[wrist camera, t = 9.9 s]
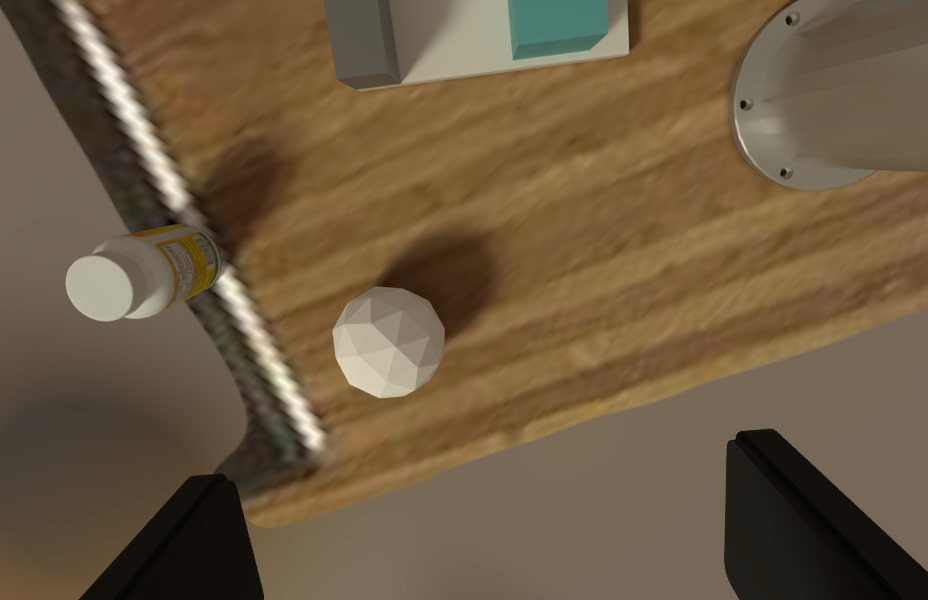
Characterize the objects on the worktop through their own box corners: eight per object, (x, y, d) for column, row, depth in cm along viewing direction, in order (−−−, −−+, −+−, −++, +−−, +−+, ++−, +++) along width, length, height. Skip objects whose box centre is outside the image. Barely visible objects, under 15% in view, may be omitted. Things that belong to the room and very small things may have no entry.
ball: (395, 338, 44) (336, 410, 39) (361, 258, 39) (290, 328, 34) (474, 352, 40) (421, 434, 35) (447, 266, 36) (381, 346, 30)
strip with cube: (621, -46, 34) (650, -87, 28) (625, 56, 35) (653, 37, 29) (344, -6, 35) (317, -38, 29) (359, 91, 36) (336, 79, 30)
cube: (585, -37, 33) (603, -70, 28) (589, 50, 34) (607, 33, 29) (505, -25, 33) (509, -56, 28) (512, 60, 35) (518, 45, 30)
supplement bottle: (234, 244, 40) (159, 272, 30) (207, 304, 41) (128, 348, 32) (166, 209, 39) (69, 226, 30) (142, 271, 40) (41, 306, 31)
